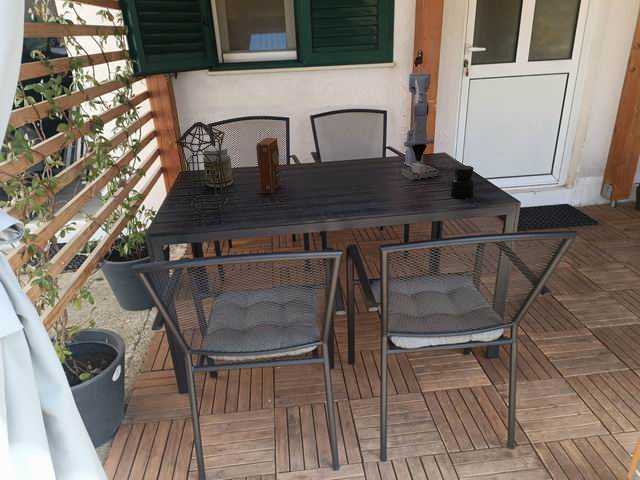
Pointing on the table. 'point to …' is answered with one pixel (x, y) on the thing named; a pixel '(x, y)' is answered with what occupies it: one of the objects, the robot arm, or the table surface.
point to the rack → (415, 175)
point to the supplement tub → (226, 166)
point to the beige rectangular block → (418, 167)
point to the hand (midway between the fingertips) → (418, 160)
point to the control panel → (268, 164)
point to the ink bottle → (463, 182)
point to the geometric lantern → (205, 127)
